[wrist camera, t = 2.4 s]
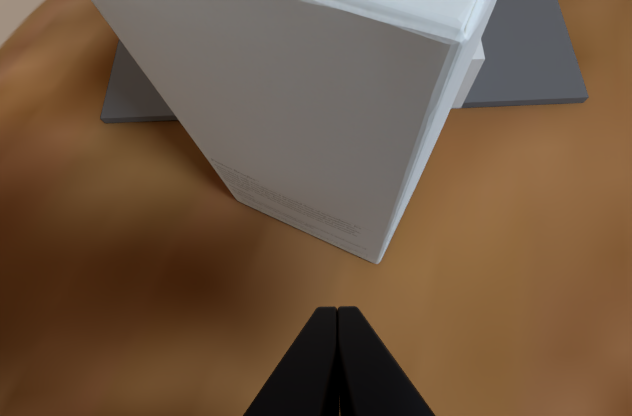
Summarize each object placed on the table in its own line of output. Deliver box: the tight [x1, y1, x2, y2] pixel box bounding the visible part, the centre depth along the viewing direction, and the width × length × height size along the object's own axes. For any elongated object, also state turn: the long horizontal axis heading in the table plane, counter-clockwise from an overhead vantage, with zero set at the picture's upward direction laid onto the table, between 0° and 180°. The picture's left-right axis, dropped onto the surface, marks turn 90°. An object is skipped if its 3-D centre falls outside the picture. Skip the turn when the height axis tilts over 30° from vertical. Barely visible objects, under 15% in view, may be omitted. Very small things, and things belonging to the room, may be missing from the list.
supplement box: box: [91, 0, 497, 264], centre depth 14 cm, size 9×9×15 cm
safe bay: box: [100, 0, 588, 123], centre depth 22 cm, size 10×29×4 cm, turn 90°
